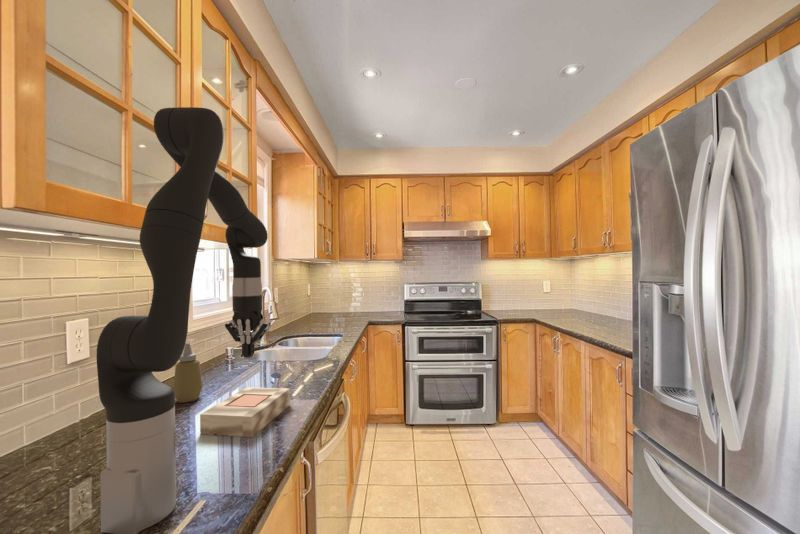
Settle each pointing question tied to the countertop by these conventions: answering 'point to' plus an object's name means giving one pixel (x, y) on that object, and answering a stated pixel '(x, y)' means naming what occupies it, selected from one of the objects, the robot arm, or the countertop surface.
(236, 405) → the button
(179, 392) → the squeeze bottle
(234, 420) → the button housing
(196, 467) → the countertop surface
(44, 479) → the countertop surface
